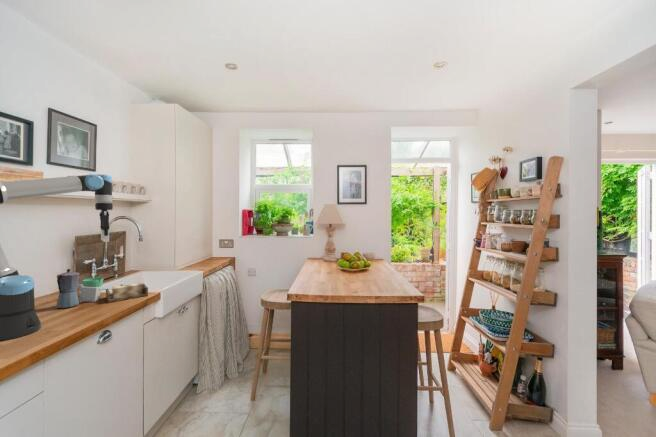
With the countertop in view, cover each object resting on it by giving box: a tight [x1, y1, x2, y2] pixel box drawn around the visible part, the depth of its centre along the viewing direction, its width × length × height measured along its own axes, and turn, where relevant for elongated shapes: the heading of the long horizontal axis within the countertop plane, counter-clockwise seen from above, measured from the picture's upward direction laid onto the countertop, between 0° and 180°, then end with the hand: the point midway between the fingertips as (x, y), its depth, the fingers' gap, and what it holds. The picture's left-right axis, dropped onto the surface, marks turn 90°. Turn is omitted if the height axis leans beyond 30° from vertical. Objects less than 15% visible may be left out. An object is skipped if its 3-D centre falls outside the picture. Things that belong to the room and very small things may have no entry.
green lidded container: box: [81, 276, 104, 291], centre depth 174 cm, size 15×10×10 cm
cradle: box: [105, 282, 149, 304], centre depth 168 cm, size 19×14×5 cm
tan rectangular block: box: [111, 282, 143, 299], centre depth 169 cm, size 14×5×6 cm, turn 132°
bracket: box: [77, 283, 102, 304], centre depth 161 cm, size 11×4×10 cm, turn 100°
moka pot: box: [56, 268, 80, 309], centre depth 152 cm, size 10×15×20 cm, turn 20°
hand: (105, 240), depth 157 cm, fingers open, 13 cm apart
